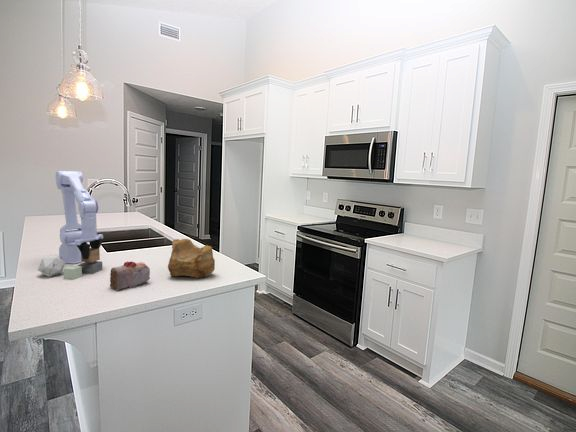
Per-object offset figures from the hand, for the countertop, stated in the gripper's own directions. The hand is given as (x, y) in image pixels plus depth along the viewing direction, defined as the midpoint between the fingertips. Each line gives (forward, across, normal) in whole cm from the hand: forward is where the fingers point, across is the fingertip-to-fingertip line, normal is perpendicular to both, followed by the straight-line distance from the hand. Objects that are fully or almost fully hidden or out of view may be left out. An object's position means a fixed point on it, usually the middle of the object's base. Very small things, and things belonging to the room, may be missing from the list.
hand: (90, 257), depth 145 cm
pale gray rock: (+7, -8, +11) cm, 16 cm away
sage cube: (+6, -9, +1) cm, 11 cm away
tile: (+6, +4, +8) cm, 11 cm away
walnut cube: (+2, 0, 0) cm, 2 cm away
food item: (+7, -11, -27) cm, 30 cm away
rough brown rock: (+7, +7, -42) cm, 43 cm away
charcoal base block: (+7, 0, 0) cm, 7 cm away
